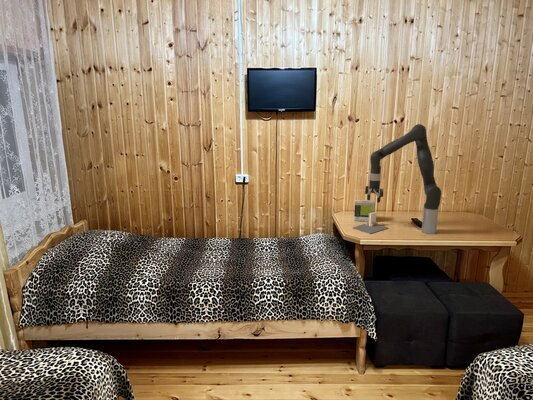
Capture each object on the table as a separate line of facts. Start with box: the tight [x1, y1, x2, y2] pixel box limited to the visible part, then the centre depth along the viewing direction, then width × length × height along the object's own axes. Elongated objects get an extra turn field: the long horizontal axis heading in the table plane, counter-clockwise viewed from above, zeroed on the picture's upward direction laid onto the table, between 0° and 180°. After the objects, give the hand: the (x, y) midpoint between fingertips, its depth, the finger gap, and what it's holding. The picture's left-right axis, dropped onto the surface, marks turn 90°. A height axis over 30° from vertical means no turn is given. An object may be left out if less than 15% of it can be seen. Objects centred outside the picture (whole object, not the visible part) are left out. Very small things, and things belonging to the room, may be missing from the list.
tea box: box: [353, 199, 376, 222], centre depth 292 cm, size 15×10×15 cm, turn 76°
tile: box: [367, 212, 377, 226], centre depth 278 cm, size 6×2×9 cm, turn 127°
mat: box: [352, 223, 389, 235], centre depth 273 cm, size 20×16×1 cm
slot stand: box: [365, 221, 379, 227], centre depth 279 cm, size 7×6×2 cm
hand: (373, 201), depth 275 cm, fingers open, 8 cm apart
